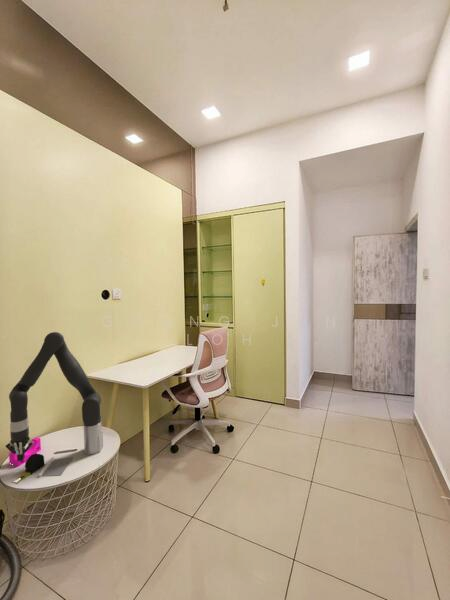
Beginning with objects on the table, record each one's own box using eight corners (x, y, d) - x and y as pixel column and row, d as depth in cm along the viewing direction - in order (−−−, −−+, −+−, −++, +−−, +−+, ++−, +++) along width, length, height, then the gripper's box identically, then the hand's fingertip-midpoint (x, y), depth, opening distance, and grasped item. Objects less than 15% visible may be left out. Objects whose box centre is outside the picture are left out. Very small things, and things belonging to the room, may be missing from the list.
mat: (72, 457, 148) (72, 455, 148) (61, 475, 135) (60, 472, 135) (52, 459, 147) (52, 457, 147) (38, 477, 133) (38, 474, 133)
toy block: (18, 468, 141) (17, 454, 141) (9, 466, 143) (8, 452, 142) (44, 451, 155) (43, 438, 155) (35, 449, 157) (35, 437, 157)
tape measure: (38, 464, 143) (38, 450, 143) (45, 466, 142) (44, 451, 142) (11, 484, 129) (10, 468, 129) (18, 485, 128) (17, 469, 128)
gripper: (37, 423, 142) (38, 454, 143) (10, 425, 140) (11, 456, 141) (29, 430, 135) (30, 463, 135) (0, 432, 133) (1, 466, 133)
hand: (21, 460), depth 138 cm, fingers closed
